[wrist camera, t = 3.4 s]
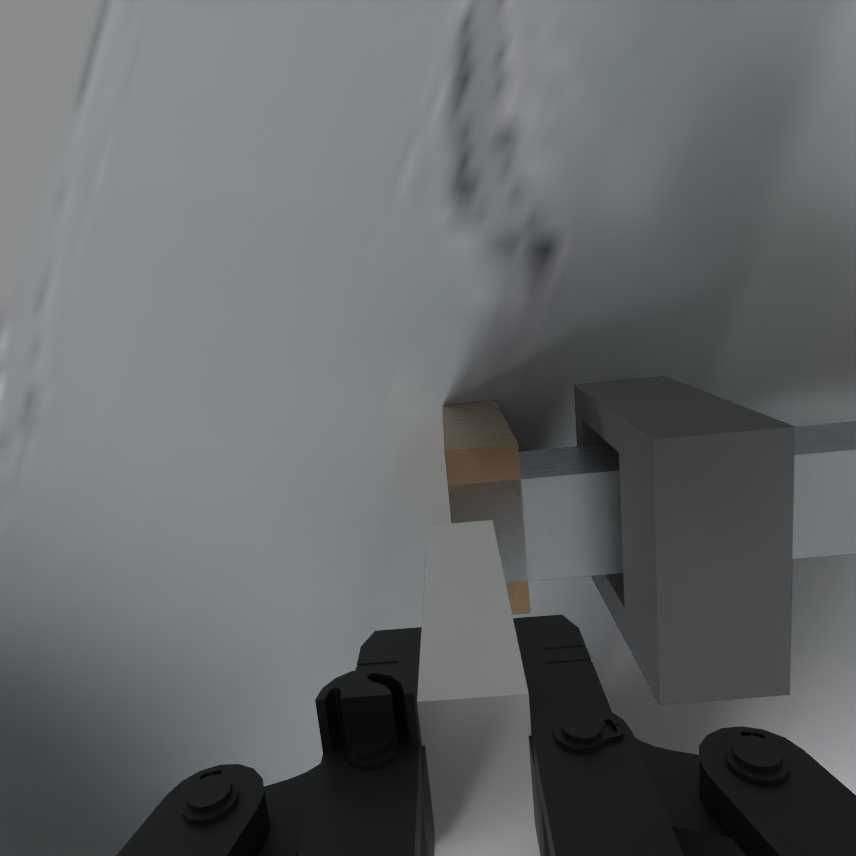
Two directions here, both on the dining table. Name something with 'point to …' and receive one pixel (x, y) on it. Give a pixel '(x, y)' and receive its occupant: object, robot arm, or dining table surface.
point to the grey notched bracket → (698, 537)
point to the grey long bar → (609, 497)
